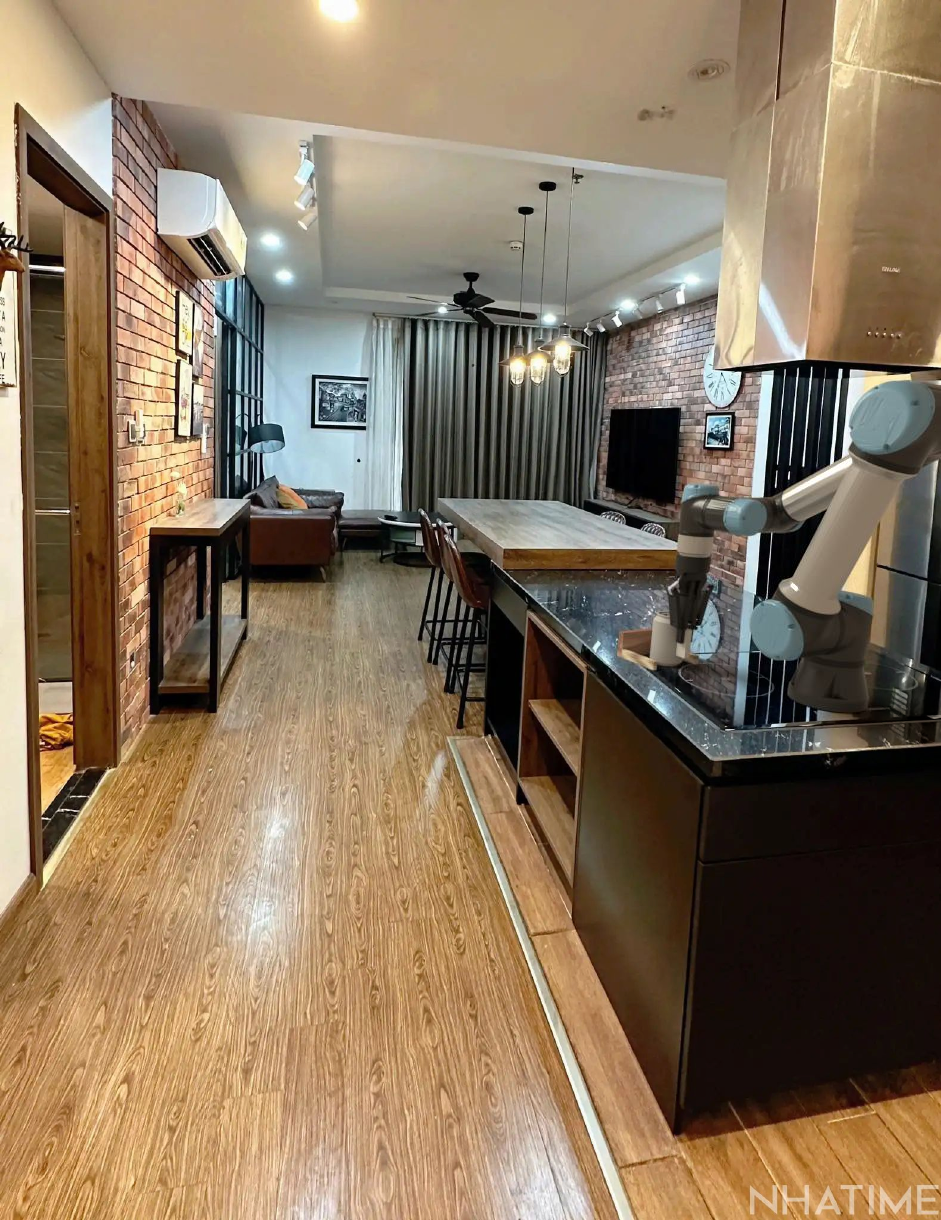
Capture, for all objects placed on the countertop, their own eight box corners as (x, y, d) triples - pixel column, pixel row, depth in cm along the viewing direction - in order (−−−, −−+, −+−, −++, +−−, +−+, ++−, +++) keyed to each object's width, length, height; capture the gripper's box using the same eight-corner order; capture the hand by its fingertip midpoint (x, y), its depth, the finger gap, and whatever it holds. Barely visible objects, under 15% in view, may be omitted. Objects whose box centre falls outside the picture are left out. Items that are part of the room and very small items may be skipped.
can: (661, 656, 186) (666, 608, 183) (688, 664, 180) (694, 614, 178) (642, 661, 181) (647, 611, 178) (669, 669, 176) (674, 618, 173)
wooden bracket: (697, 663, 181) (700, 639, 180) (653, 670, 174) (655, 644, 173) (660, 650, 192) (663, 626, 190) (617, 655, 185) (619, 631, 184)
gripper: (702, 550, 177) (691, 649, 182) (659, 552, 170) (649, 655, 176) (727, 555, 170) (715, 658, 176) (684, 558, 164) (672, 664, 169)
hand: (682, 656), depth 176 cm, fingers closed
